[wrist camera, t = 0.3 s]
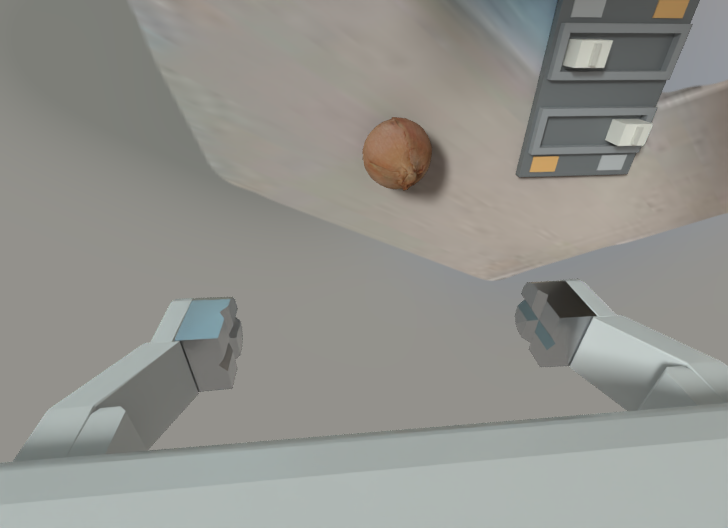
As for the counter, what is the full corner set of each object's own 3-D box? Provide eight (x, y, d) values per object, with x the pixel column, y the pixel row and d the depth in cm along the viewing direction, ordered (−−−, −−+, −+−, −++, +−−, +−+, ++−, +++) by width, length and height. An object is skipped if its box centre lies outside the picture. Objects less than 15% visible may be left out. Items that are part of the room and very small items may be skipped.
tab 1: (568, 38, 48) (585, 40, 45) (598, 38, 49) (616, 40, 46) (561, 65, 50) (576, 68, 47) (590, 64, 50) (607, 68, 47)
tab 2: (612, 119, 55) (629, 125, 52) (638, 118, 55) (656, 124, 52) (604, 139, 56) (620, 147, 53) (630, 139, 57) (647, 146, 54)
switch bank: (561, -15, 46) (571, -16, 44) (697, -13, 48) (712, -13, 46) (515, 174, 59) (521, 179, 58) (622, 171, 61) (631, 176, 59)
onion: (407, 153, 59) (436, 197, 54) (350, 165, 57) (376, 212, 51) (418, 97, 51) (454, 142, 46) (354, 107, 49) (384, 156, 44)
